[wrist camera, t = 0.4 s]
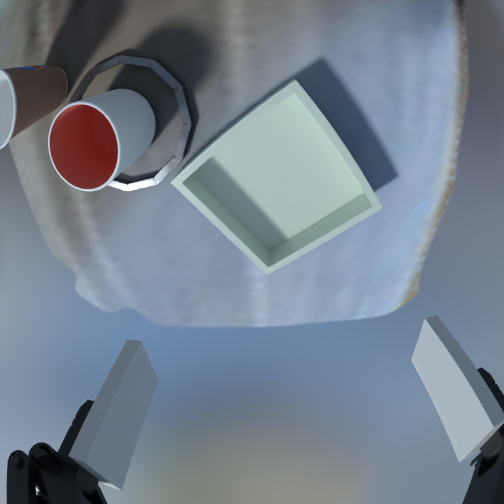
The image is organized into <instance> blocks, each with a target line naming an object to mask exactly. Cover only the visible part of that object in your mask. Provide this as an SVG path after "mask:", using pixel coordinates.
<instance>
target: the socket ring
mask: <svg viewBox="0 0 504 504" xmlns="http://www.w3.org/2000/svg"><path fill="white" fill-rule="evenodd" d="M121 63H125V64H132V65H139V66H146V67H150V68H151V69H153V70H154V71H155V72H156V73H157V74H158V75H159V76H160V77H161V78H162V79H163V80H164V81H165V82H166V83H167V84H168V85H169V86H170V87H172V88H173V89H174V91H175V95H176V99H177V103H178V107H179V111H180V115H181V118H182V122H183V126H182V130H181V133H180V137H179V141H178V145H177V149H176V153H175V157H174V158H173V159H172V160H171V161H170V162H168V164H167V165H166V166H165V167H164V168H163V169H162V170H161V171H160V172H159V173H158V174H157V175H154V176H150V177H146V178H142V179H138V180H134V181H130V182H129V181H126V180H123V179H119V178H114V179H113V180H112V181H111V182H110V183H109V184H108V185H109V186H112V187H115V188H118V189H122V190H125V191H131V190H135V189H139V188H144V187H148V186H152V185H157V184H158V183H159V182H160V181H161V180H162V179H163V178H164V177H165V176H166V175H167V174H168V173H169V172H170V171H171V170H172V169H173V168H174V167H175V166H176V165H178V164H179V163H180V162H181V161H182V159H183V158H184V155H185V151H186V148H187V144H188V141H189V137H190V133H191V130H192V127H193V118H192V114H191V110H190V106H189V102H188V98H187V94H186V90H185V86H183V85H184V84H183V83H182V82H181V81H180V80H179V79H178V78H177V77H175V76H174V75H173V74H172V73H171V72H170V71H169V70H168V69H167V68H166V67H165V66H164V65H163V64H162V63H161V62H160V61H158V60H156V59H149V58H143V57H135V56H127V55H119V56H117V57H114V58H112V59H110V60H108V61H106V62H104V63H102V64H100V65H98V66H96V67H95V68H93V69H91V70H89V71H88V72H87V74H86V75H85V77H84V78H83V80H82V81H81V83H80V84H79V86H78V87H77V89H76V91H75V92H74V94H73V95H72V97H71V99H70V103H73V102H76V101H79V100H80V98H81V97H82V95H83V94H84V92H85V91H86V89H87V88H88V86H89V85H90V83H91V82H92V80H93V79H94V78H95V76H96V75H98V74H100V73H102V72H104V71H106V70H108V69H110V68H112V67H114V66H116V65H119V64H121Z"/></svg>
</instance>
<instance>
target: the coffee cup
mask: <svg viewBox="0 0 504 504" xmlns="http://www.w3.org/2000/svg"><path fill="white" fill-rule="evenodd" d="M67 91H68V79H67V75H66V73H65V72H64V70H63V69H61V68H60V67H56V66H43V65H40V66H28V67H18V68H10V69H0V149H1V148H3V147H4V146H5V145H6V144H7V143H8V142H9V140H11V139H12V138H13V137H15V136H16V135H17V134H19V133H20V132H21V131H23V130H25V129H26V128H27V127H29V126H30V125H32V124H33V123H35V122H36V121H38V120H40V119H41V118H43V117H44V116H46V115H48V114H49V113H51V112H53V111H54V110H55V109H57V108H58V107H59V106H60V105H61V104H62V103H63V101H64V100H65V98H66V95H67Z"/></svg>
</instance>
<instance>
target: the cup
mask: <svg viewBox="0 0 504 504" xmlns="http://www.w3.org/2000/svg"><path fill="white" fill-rule="evenodd" d="M154 134H155V117H154V113H153V110H152V108H151V106H150V104H149V103H148V101H147V100H146V99H145V98H144V97H143V96H142V95H140V94H139V93H137V92H135V91H132V90H128V89H116V90H112V91H108V92H105V93H101V94H98V95H94V96H91V97H88V98H85V99H82V100H79V101H76V102H73V103H70V104H68V105H67V106H65V107H64V108H63V109H61V110H60V112H59V113H58V114H57V115H56V117H55V118H54V120H53V122H52V125H51V128H50V131H49V138H48V146H49V154H50V157H51V161H52V163H53V165H54V167H55V169H56V171H57V172H58V174H59V175H60V176H61V178H62V179H63V180H64V181H65V182H67V183H68V184H69V185H71V186H72V187H74V188H76V189H79V190H83V191H95V190H99V189H101V188H103V187H105V186H106V185H108V184H109V183H110V182H111V181H112V180H113V179H114V178H116V177H117V176H118V175H119V174H120V173H121V172H122V171H124V170H125V169H126V168H127V167H128V166H129V165H131V164H132V163H133V162H134V161H135V160H137V159H138V158H139V157H140V156H141V155H143V154H144V153H145V152H146V150H147V149H148V148H149V146H150V144H151V143H152V140H153V137H154Z"/></svg>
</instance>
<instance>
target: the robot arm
mask: <svg viewBox="0 0 504 504" xmlns="http://www.w3.org/2000/svg"><path fill="white" fill-rule="evenodd" d="M411 361H412V362H413V364H414V366H415V368H416V370H417V372H418V374H419V376H420V378H421V379H422V381H423V383H424V385H425V387H426V389H427V391H428V393H429V395H430V397H431V399H432V401H433V403H434V405H435V408H436V410H437V412H438V414H439V416H440V418H441V420H442V423H443V425H444V427H445V429H446V432H447V434H448V436H449V439H450V441H451V443H452V446H453V448H454V451H455V453H456V456H457V458H458V460H459V462H461V461H463V460H465V459H467V458H469V457H471V456H472V455H474V454H475V453H476V451H478V450H479V449H480V450H481V453H480V454H479V455H478V456H477V457H476V458H475V459H474V460H473V461H472V462H471V464H470V465H471V466H472V465H473V464H474V463H475V462H476V461H477V463H476V464H475V470H474V473H473V477H472V480H471V482H470V485H469V488H468V491H467V493H466V496H465V498H464V501H463V503H462V504H504V395H503V393H502V392H501V390H499V387H498V385H497V384H495V381H494V379H493V378H492V376H491V375H490V373H488V372H487V371H486V370H484V369H483V368H479V369H476V368H475V366H474V365H473V363H472V362H471V360H470V359H469V357H468V356H467V355H466V353H465V352H464V351H463V349H462V348H461V346H460V345H459V344H458V342H457V341H456V340H455V338H454V337H453V336H452V334H451V333H450V332H449V330H448V329H447V328H446V327H445V325H444V324H443V323H442V321H441V320H440V319H439V318H438V316H434V317H429V318H425V319H424V323H423V326H422V330H421V333H420V336H419V339H418V342H417V345H416V348H415V352H414V354H413V357H412V360H411ZM157 383H158V378H157V376H156V373H155V371H154V369H153V367H152V365H151V362H150V360H149V358H148V356H147V353H146V351H145V348H144V346H143V344H142V341H133V340H128V341H127V342H126V344H125V345H124V347H123V349H122V351H121V353H120V354H119V356H118V358H117V360H116V362H115V363H114V365H113V367H112V369H111V371H110V373H109V374H108V376H107V378H106V380H105V382H104V384H103V386H102V388H101V390H100V391H99V393H98V395H97V397H96V399H95V401H91V400H87V401H86V402H85V403H84V404H83V405H82V406H81V407H80V409H79V410H78V412H77V414H76V416H75V417H76V418H75V419H74V420H73V422H72V426H70V428H69V430H68V432H67V434H66V436H65V438H64V440H63V442H62V444H61V447H60V449H59V450H58V452H56V451H55V450H54V449H52V447H51V446H49V445H48V444H46V443H43V442H42V443H37V444H35V445H34V446H33V447H32V448H31V449H30V451H29V454H28V455H27V454H25V453H24V452H23V451H21V450H16V451H14V452H12V453H11V455H10V456H9V459H8V467H7V504H107V502H106V500H105V498H104V496H103V493H102V491H101V489H100V487H99V486H98V482H99V481H101V482H102V483H103V484H105V485H106V486H109V487H112V488H115V489H119V490H122V488H123V485H124V481H125V478H126V475H127V472H128V469H129V465H130V462H131V459H132V456H133V453H134V450H135V447H136V443H137V441H138V438H139V434H140V432H141V429H142V426H143V423H144V420H145V417H146V414H147V411H148V408H149V406H150V403H151V400H152V397H153V394H154V392H155V389H156V386H157ZM36 490H37V491H38V495H36Z"/></svg>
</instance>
